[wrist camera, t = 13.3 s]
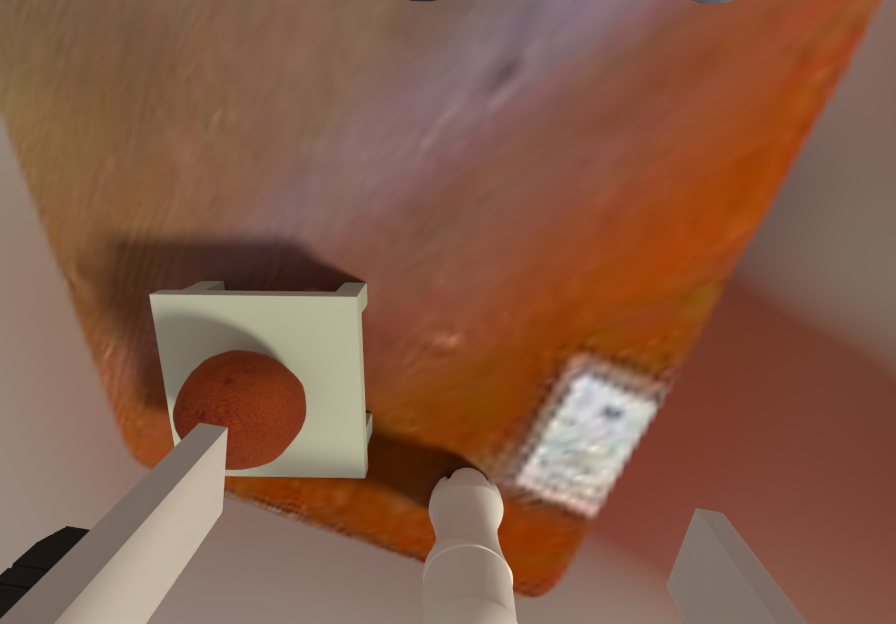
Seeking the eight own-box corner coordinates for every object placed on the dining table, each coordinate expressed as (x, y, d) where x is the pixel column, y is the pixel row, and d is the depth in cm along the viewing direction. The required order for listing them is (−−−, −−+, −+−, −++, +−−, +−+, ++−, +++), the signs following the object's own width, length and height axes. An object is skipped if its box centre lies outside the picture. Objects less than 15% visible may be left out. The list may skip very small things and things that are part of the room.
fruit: (193, 413, 41) (131, 470, 33) (226, 320, 38) (168, 358, 31) (294, 454, 42) (256, 519, 34) (332, 366, 39) (301, 414, 32)
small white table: (195, 275, 45) (149, 294, 38) (371, 277, 44) (356, 296, 38) (217, 432, 49) (179, 474, 42) (377, 435, 49) (365, 478, 42)
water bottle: (428, 517, 51) (402, 821, 27) (433, 456, 49) (409, 729, 25) (496, 522, 51) (530, 831, 27) (504, 462, 49) (548, 740, 25)
